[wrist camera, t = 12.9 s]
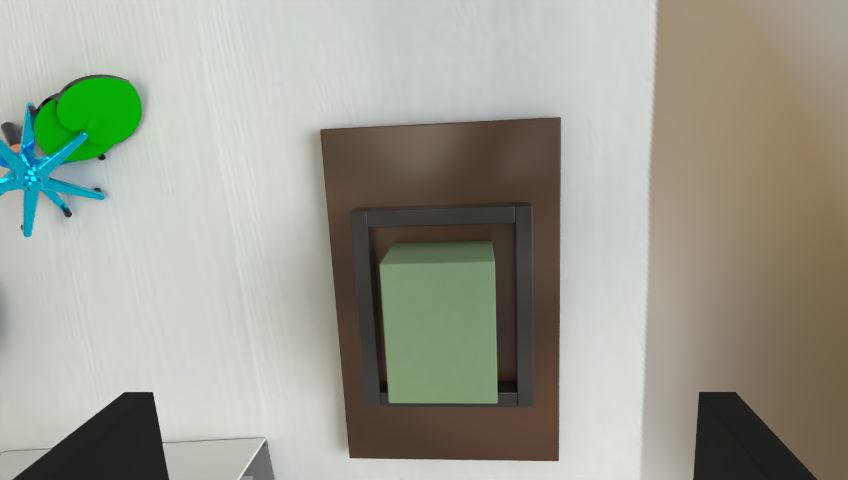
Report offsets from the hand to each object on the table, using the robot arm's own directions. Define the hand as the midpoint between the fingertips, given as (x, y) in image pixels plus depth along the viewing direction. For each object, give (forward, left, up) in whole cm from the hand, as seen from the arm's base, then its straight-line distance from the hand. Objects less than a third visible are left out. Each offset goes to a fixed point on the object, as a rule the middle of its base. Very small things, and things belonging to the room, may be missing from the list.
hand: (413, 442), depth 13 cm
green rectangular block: (+2, +3, -20) cm, 20 cm away
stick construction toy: (+20, -16, -21) cm, 33 cm away
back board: (+2, +3, -21) cm, 21 cm away
